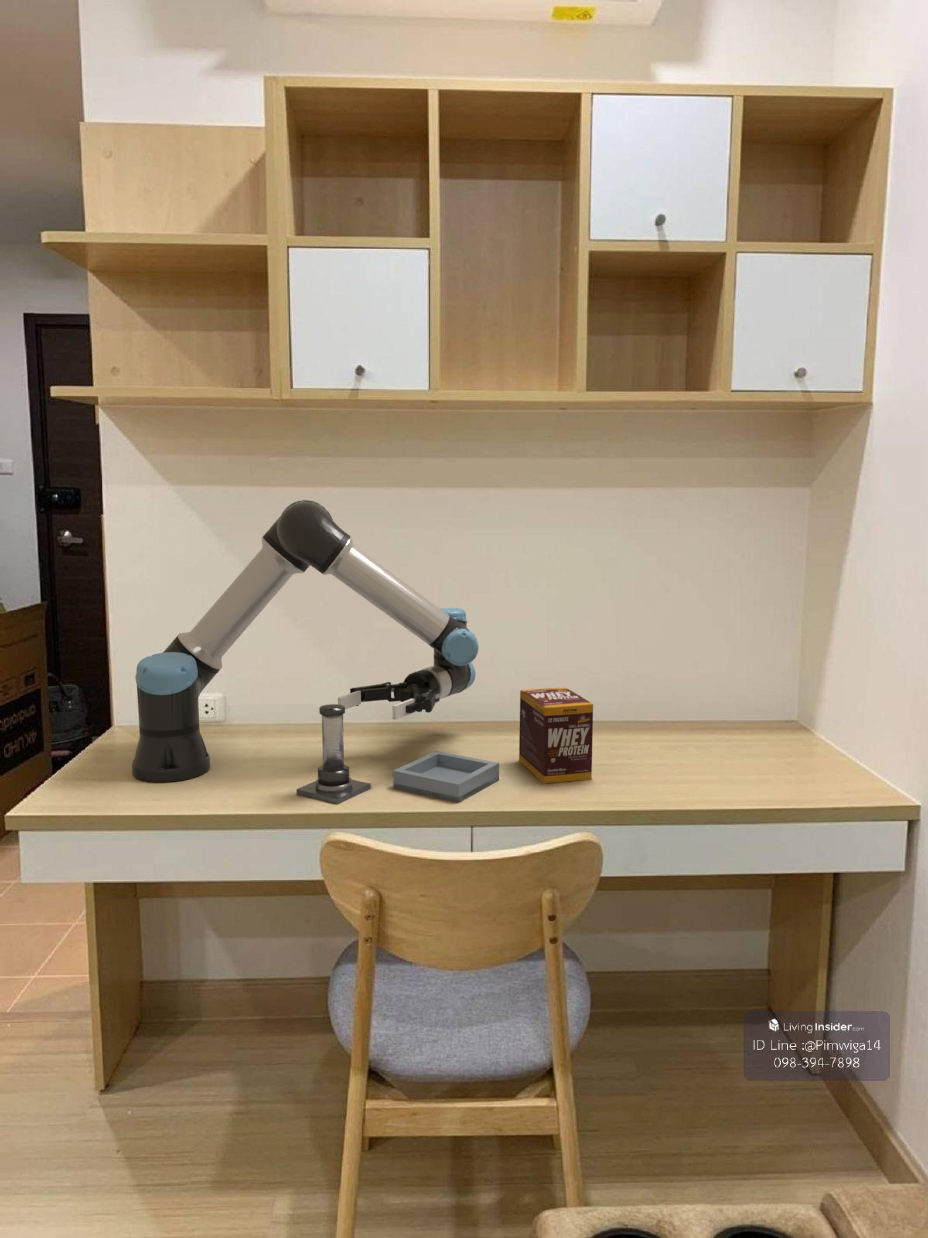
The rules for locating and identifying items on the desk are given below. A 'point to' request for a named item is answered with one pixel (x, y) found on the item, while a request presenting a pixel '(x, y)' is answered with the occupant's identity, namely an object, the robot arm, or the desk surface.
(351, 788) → the stud mount
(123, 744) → the desk surface
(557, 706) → the supplement box
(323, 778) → the clear capped cylinder
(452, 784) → the tray
